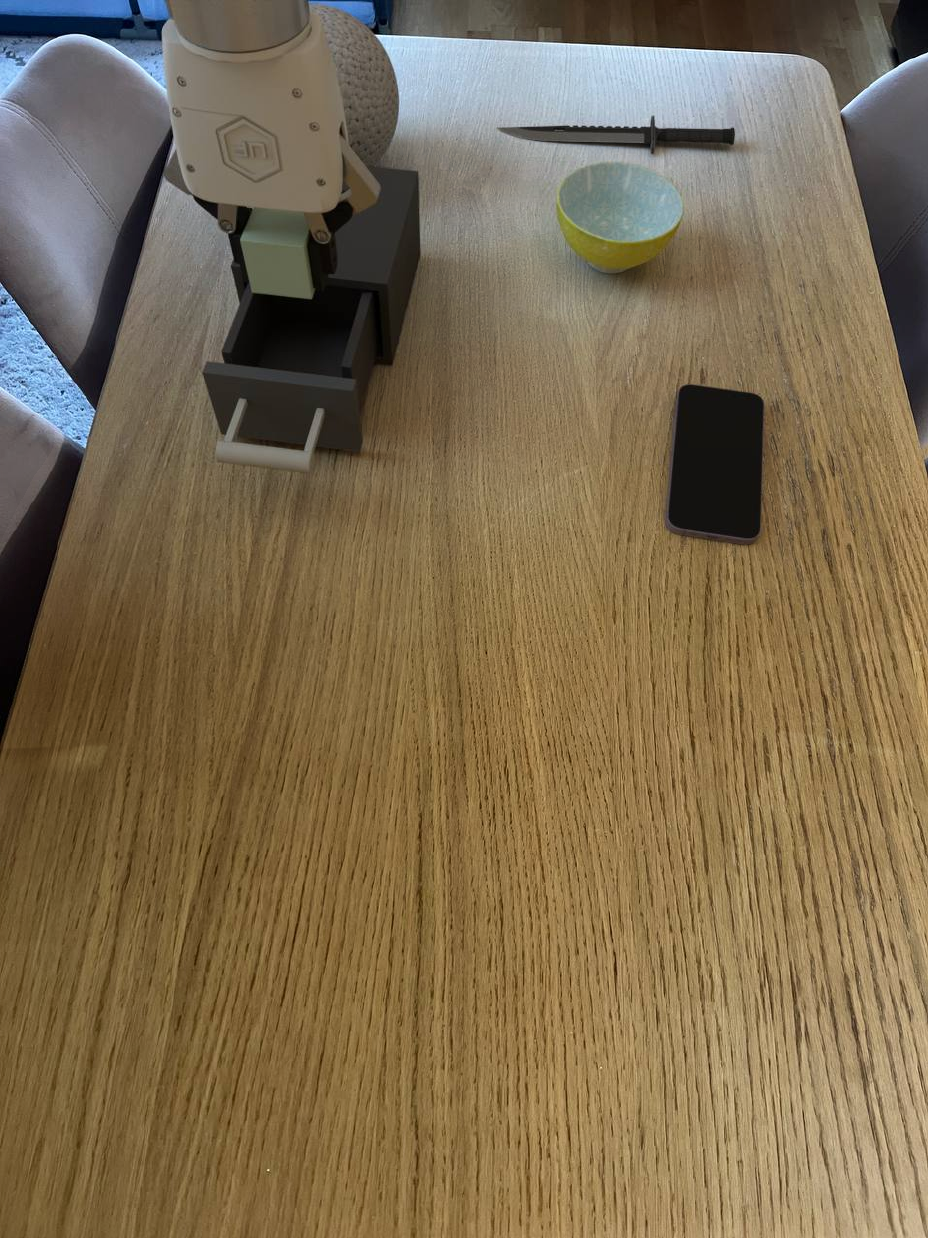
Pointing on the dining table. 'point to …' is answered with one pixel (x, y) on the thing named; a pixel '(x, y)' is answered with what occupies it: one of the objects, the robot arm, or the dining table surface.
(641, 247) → the bowl
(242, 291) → the cabinet
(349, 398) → the drawer
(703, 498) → the smartphone
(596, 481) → the dining table surface
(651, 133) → the knife
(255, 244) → the block
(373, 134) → the decorative ball
